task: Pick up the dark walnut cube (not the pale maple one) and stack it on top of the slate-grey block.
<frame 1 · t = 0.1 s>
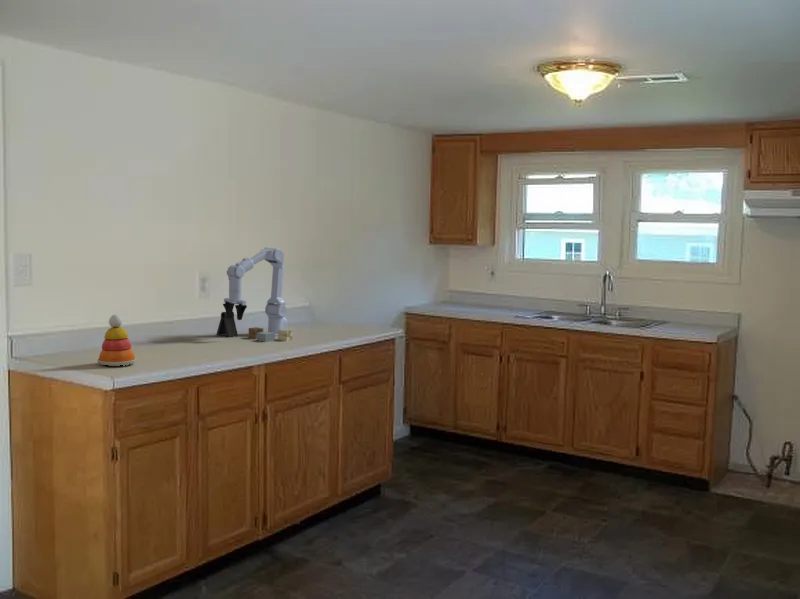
hand: (234, 318, 384), 10 cm above the countertop, tool pointing down, fingers open, 7 cm apart
maple cube: (285, 340, 390), on the countertop
walnut cube: (255, 338, 392), on the countertop
grey base block: (265, 341, 385), on the countertop
stacking toy: (117, 365, 310), on the countertop
phone stand: (227, 336, 396), on the countertop
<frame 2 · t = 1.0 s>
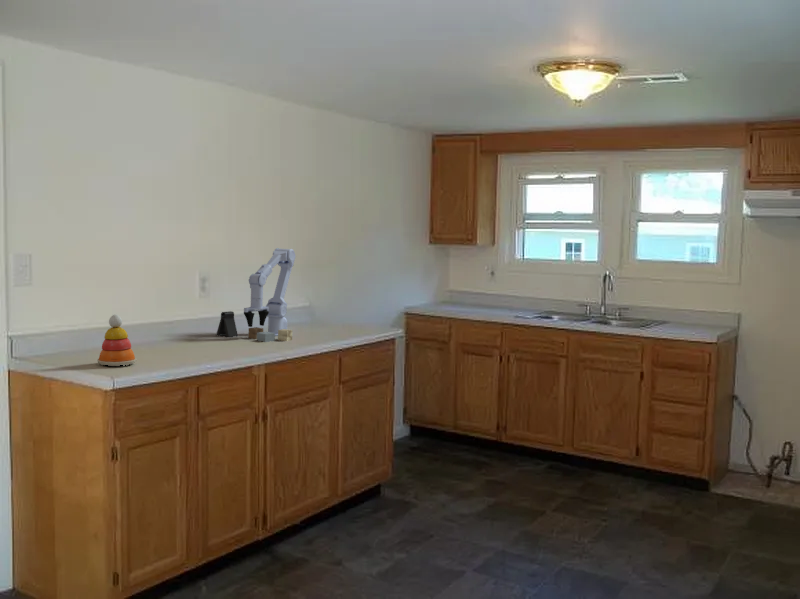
hand: (255, 326, 392), 6 cm above the countertop, tool pointing down, fingers open, 7 cm apart
nothing on the countertop moved.
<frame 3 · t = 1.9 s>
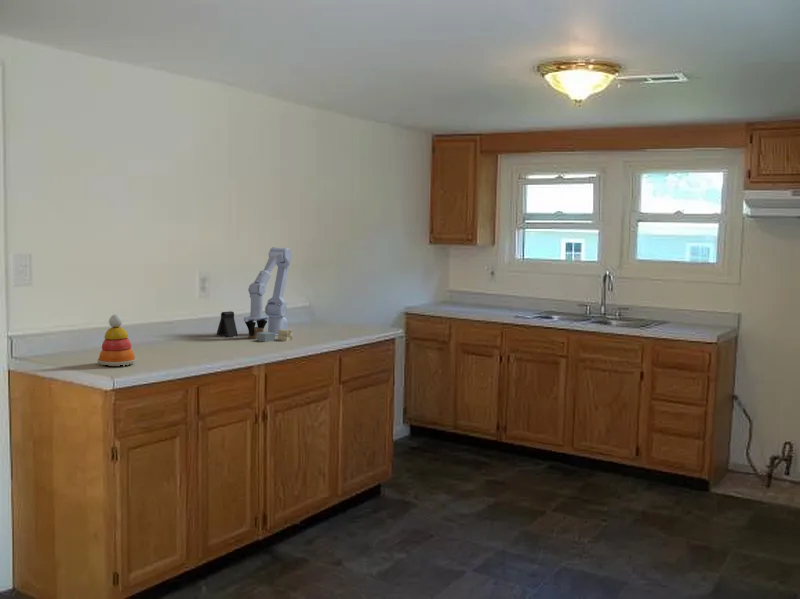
hand: (255, 335, 392), 1 cm above the countertop, tool pointing down, fingers closed on walnut cube, 5 cm apart
walnut cube: (255, 338, 392), on the countertop, touching gripper
everything else where it was.
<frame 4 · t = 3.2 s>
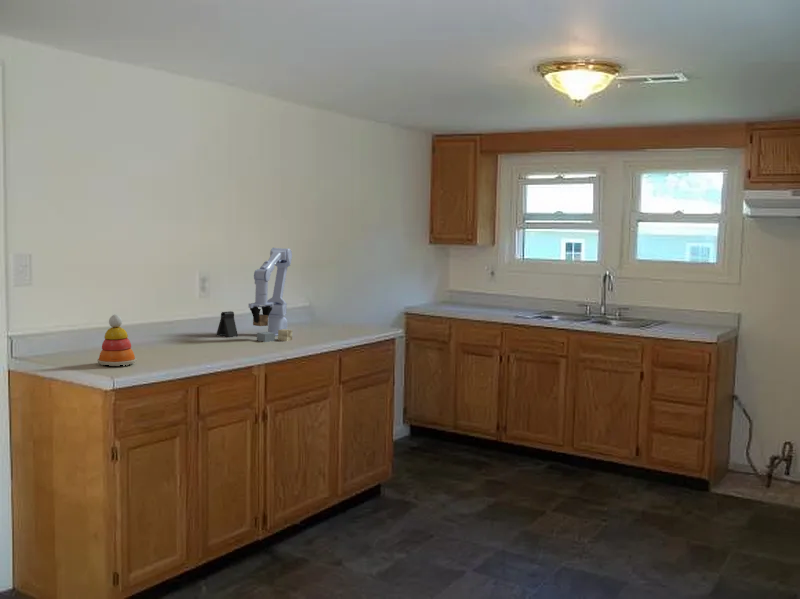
hand: (260, 322, 388), 8 cm above the countertop, tool pointing down, fingers closed on walnut cube, 5 cm apart
walnut cube: (260, 325, 388), point 7 cm above the countertop, touching gripper
everything else where it was.
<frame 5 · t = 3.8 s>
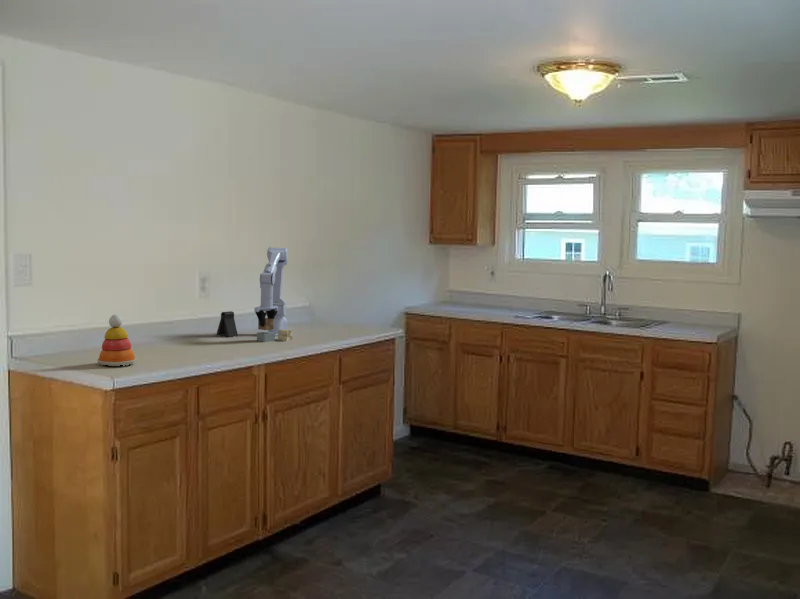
hand: (266, 325, 385), 7 cm above the countertop, tool pointing down, fingers closed on walnut cube, 5 cm apart
walnut cube: (265, 329, 385), point 6 cm above the countertop, touching gripper
everything else where it was.
when the fingers open (7 cm above the countertop, at t = 4.3 s): walnut cube drops 1 cm, resting on grey base block.
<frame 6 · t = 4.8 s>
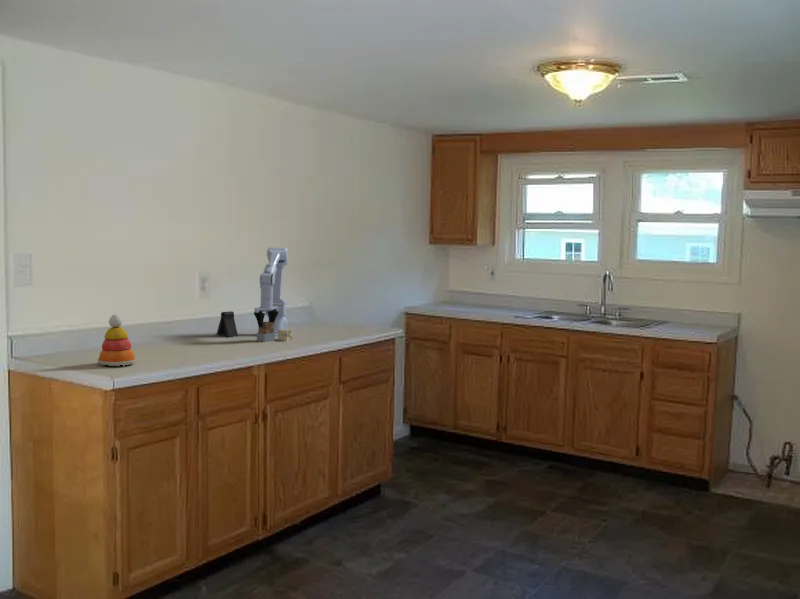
hand: (266, 326, 385), 7 cm above the countertop, tool pointing down, fingers open, 7 cm apart
walnut cube: (265, 333, 385), point 4 cm above the countertop, touching grey base block
grey base block: (265, 341, 385), on the countertop, touching walnut cube
everything else where it was.
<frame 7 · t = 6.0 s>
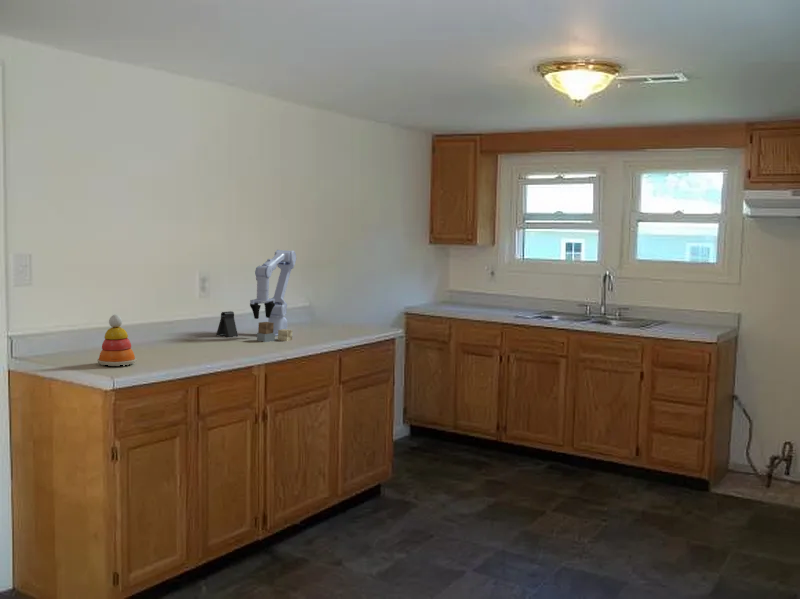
hand: (262, 318, 392), 10 cm above the countertop, tool pointing down, fingers open, 7 cm apart
walnut cube: (265, 333, 385), point 4 cm above the countertop
grey base block: (265, 341, 385), on the countertop
everything else where it was.
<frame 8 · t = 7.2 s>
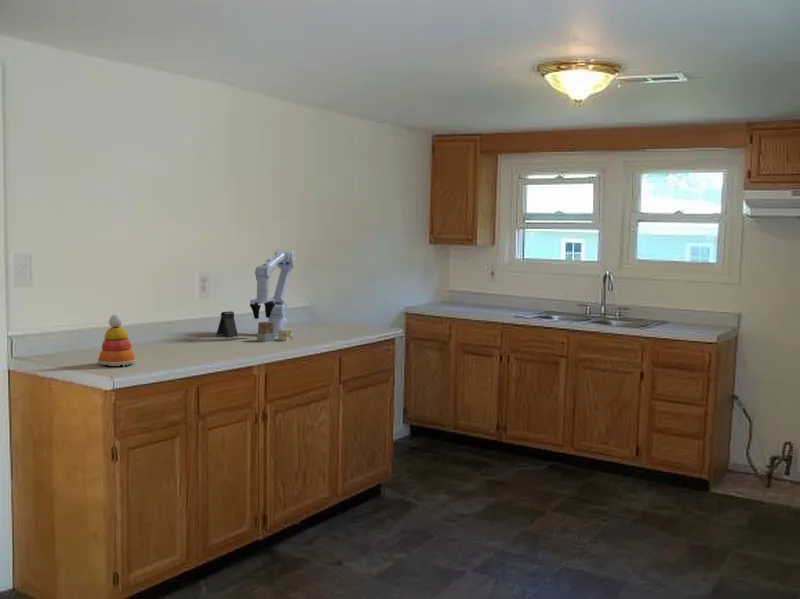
hand: (262, 318, 392), 10 cm above the countertop, tool pointing down, fingers open, 7 cm apart
walnut cube: (265, 332, 385), point 4 cm above the countertop, touching grey base block
grey base block: (265, 341, 385), on the countertop, touching walnut cube
everything else where it was.
at the end: walnut cube 0.2 cm off-centre on the grey base block, point 4.0 cm above the grey base block's base; walnut cube tilted 0°; walnut cube touching grey base block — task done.
